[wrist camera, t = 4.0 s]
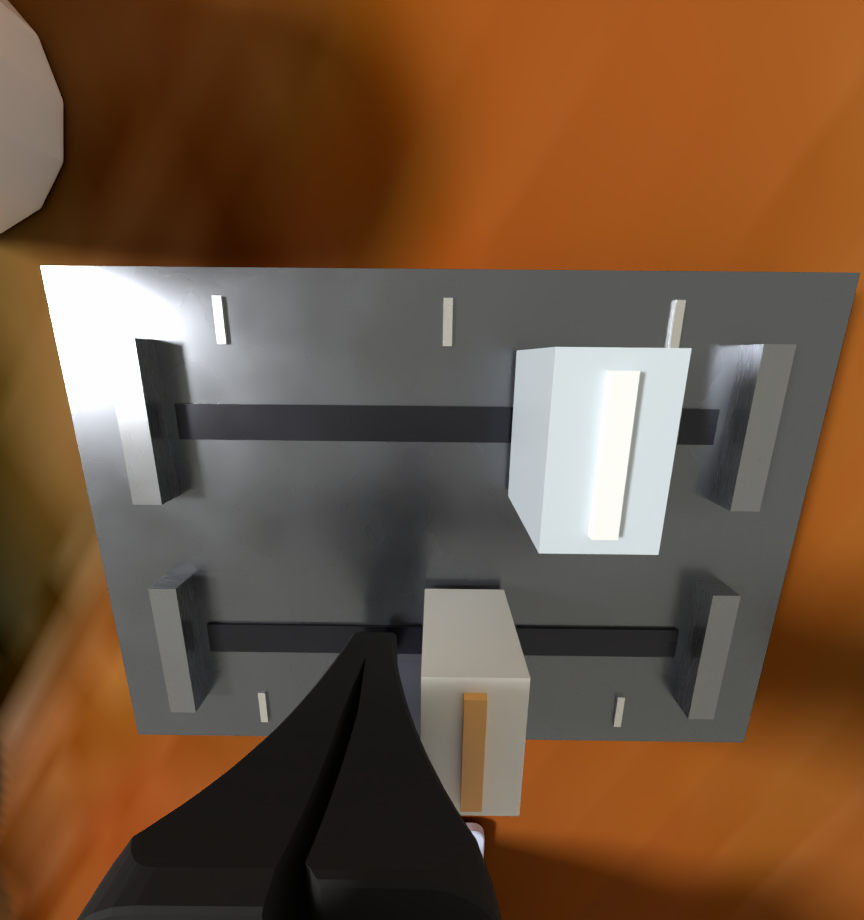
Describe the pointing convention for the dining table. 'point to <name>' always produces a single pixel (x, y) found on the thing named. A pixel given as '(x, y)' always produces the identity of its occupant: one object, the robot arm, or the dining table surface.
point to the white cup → (26, 120)
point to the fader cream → (474, 699)
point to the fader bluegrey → (595, 446)
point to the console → (430, 481)
